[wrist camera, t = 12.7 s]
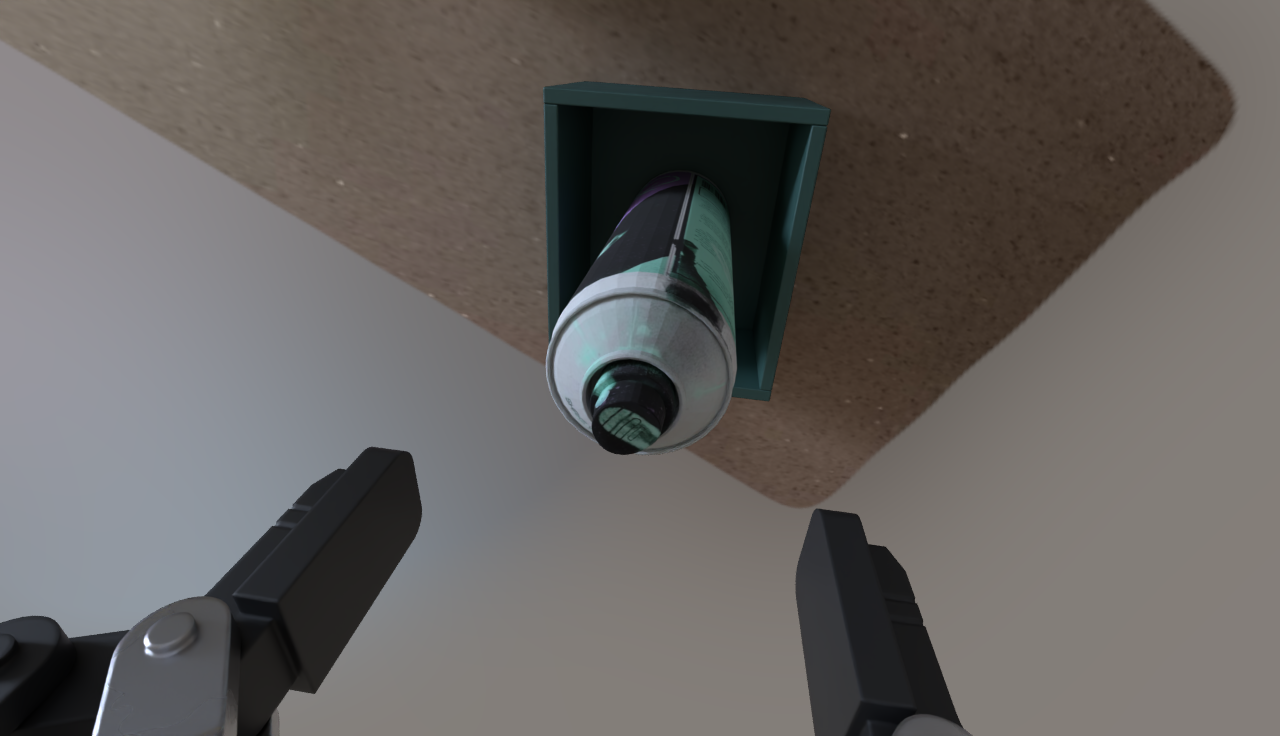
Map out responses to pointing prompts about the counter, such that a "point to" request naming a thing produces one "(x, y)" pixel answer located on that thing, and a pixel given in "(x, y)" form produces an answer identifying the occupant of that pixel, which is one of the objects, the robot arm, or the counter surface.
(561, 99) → the bin
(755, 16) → the counter surface
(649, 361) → the spray can
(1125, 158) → the counter surface
